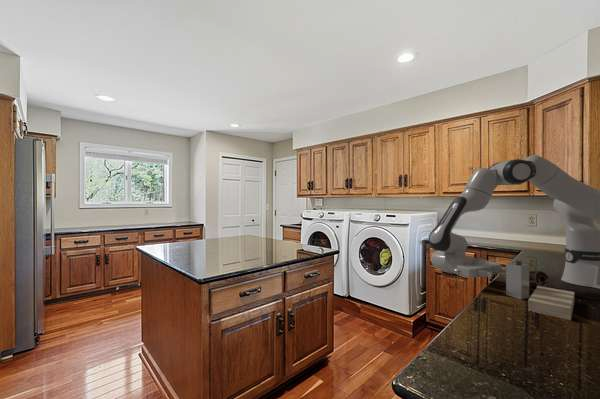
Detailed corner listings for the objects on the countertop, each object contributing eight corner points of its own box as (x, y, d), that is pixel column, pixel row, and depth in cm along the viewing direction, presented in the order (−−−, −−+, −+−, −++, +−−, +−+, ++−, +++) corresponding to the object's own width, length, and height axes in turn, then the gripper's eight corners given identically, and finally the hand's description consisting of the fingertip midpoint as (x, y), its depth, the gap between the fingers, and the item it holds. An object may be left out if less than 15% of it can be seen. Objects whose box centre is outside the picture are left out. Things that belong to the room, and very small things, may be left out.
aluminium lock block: (514, 293, 111) (514, 259, 111) (529, 297, 106) (529, 261, 106) (506, 295, 108) (506, 260, 108) (521, 299, 104) (521, 263, 104)
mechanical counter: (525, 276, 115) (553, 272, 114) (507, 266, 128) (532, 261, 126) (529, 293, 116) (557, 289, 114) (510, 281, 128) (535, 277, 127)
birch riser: (537, 295, 109) (537, 285, 109) (574, 302, 101) (574, 291, 101) (528, 311, 93) (528, 300, 93) (570, 320, 86) (570, 308, 86)
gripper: (449, 261, 121) (482, 268, 109) (480, 257, 130) (514, 263, 117) (449, 276, 121) (482, 285, 109) (480, 271, 130) (515, 278, 117)
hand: (499, 273), depth 113 cm, fingers open, 8 cm apart
